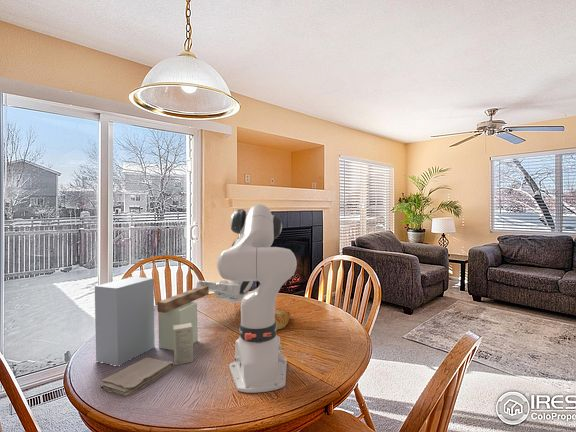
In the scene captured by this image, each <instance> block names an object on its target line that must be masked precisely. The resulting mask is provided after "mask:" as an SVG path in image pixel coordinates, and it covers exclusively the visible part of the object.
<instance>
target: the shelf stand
mask: <svg viewBox="0 0 576 432" xmlns="http://www.w3.org/2000/svg"><path fill="white" fill-rule="evenodd" d="M154 279H155V278H153V277H140V276H130V277H126V278H122V279H119V280H114V281H109V282H106V283H102V284H97V285H95V286H94V311H95V312H94V319H95V321H94V322H95V325H94V326H95V362H96V361H98V362H103V363H106V364H112V365H116V366H119V365H121V364H123V363H124V364H126V363H128V362H129V361H128V360H130V359H132V358H134V357H135V358H137V357H139V356H141V355H143V354H144V352H145V353H146V352H148V351H150V350H152V349H154V348H155V346H156V343H155V338H156V337H155V335H156V334H155V288H154V287H155V285H154V284H155V283H154V282H155V281H154ZM142 353H143V354H142ZM140 354H141V355H140ZM138 355H139V356H138ZM136 356H137V357H136ZM135 358H134V359H135ZM132 360H133V359H132ZM127 361H128V362H127ZM130 361H131V360H130ZM98 362H97V363H98ZM125 362H126V363H125ZM106 364H105V365H106ZM124 364H123V365H124ZM121 366H122V365H121ZM119 367H120V366H119Z"/></svg>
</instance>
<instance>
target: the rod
mask: <svg viewBox="0 0 576 432" xmlns="http://www.w3.org/2000/svg"><path fill="white" fill-rule="evenodd" d="M209 292H210V291H209V286H200V287H197V288H196V287H194V288H192V289H189V290H187V291H184V292H181V293H178V294H175V295H173V296H170V297H168V298H165V299H161V300H159V301H157V304H156V305H157V308H156V310H157V313H158V312H163V313H166V312H168V311H171V310H173V309H175V308H178V307H180V306H182V305H185V304H187V303H189V302H194V301H196V300H198V299H201V298H204V297H206V296H208V295H209V294H210V293H209Z"/></svg>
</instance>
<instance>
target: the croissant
mask: <svg viewBox="0 0 576 432" xmlns="http://www.w3.org/2000/svg"><path fill="white" fill-rule="evenodd" d="M290 317H291V314H290V312H289V311H285V310H284V309H275V321H276V327H277V329H276V331H278V330H280V329H283V328H286V326H287V325H288V323H289V321H290Z"/></svg>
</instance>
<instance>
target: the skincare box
mask: <svg viewBox="0 0 576 432" xmlns="http://www.w3.org/2000/svg"><path fill="white" fill-rule="evenodd" d="M173 338H174V350H173V360H174V362H173V363H174V366H176V365H177V366H178V365H181V364H187V363H192V362H194V343H193V332H192V323H185V324H178V325H173Z"/></svg>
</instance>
